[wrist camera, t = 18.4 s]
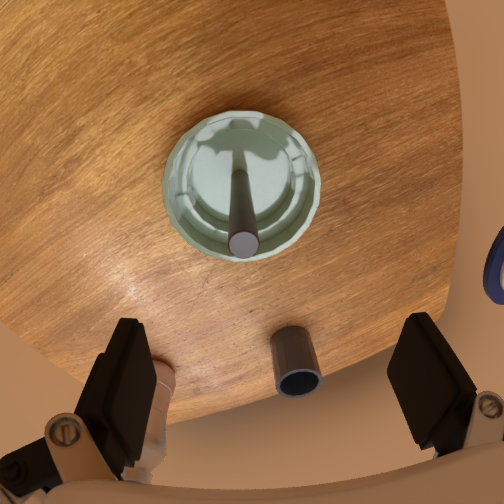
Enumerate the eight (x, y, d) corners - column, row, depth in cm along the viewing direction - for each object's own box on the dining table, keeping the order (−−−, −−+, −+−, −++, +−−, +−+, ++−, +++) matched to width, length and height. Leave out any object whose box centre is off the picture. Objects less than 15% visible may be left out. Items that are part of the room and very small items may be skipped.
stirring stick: (248, 169, 32) (260, 230, 18) (248, 185, 33) (259, 259, 18) (231, 169, 32) (227, 230, 17) (231, 185, 32) (228, 259, 18)
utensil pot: (313, 325, 42) (326, 367, 35) (308, 354, 45) (318, 396, 38) (271, 326, 42) (277, 370, 35) (269, 356, 45) (274, 399, 37)
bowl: (311, 112, 30) (325, 114, 25) (302, 238, 36) (313, 261, 31) (171, 111, 29) (158, 113, 24) (178, 238, 35) (169, 262, 31)
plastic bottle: (128, 363, 44) (97, 475, 27) (159, 348, 43) (133, 472, 25) (155, 386, 47) (136, 494, 29) (186, 374, 46) (173, 491, 28)
